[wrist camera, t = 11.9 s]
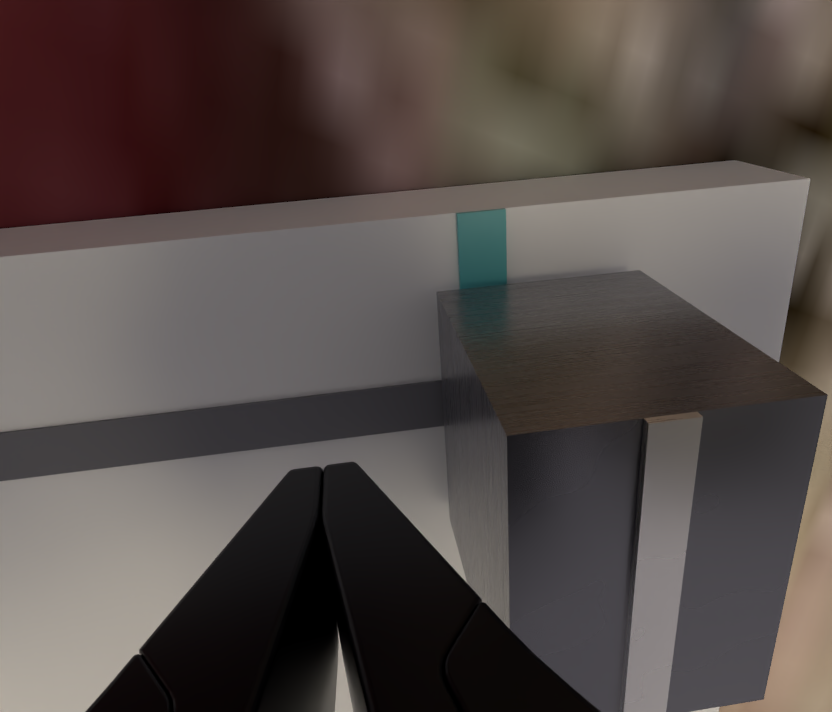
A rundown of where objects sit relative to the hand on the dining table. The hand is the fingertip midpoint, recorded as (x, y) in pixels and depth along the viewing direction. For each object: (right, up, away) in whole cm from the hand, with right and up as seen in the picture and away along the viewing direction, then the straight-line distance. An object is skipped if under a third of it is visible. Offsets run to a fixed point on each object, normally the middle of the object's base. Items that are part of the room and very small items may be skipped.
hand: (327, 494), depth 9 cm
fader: (+3, +1, +2) cm, 4 cm away
